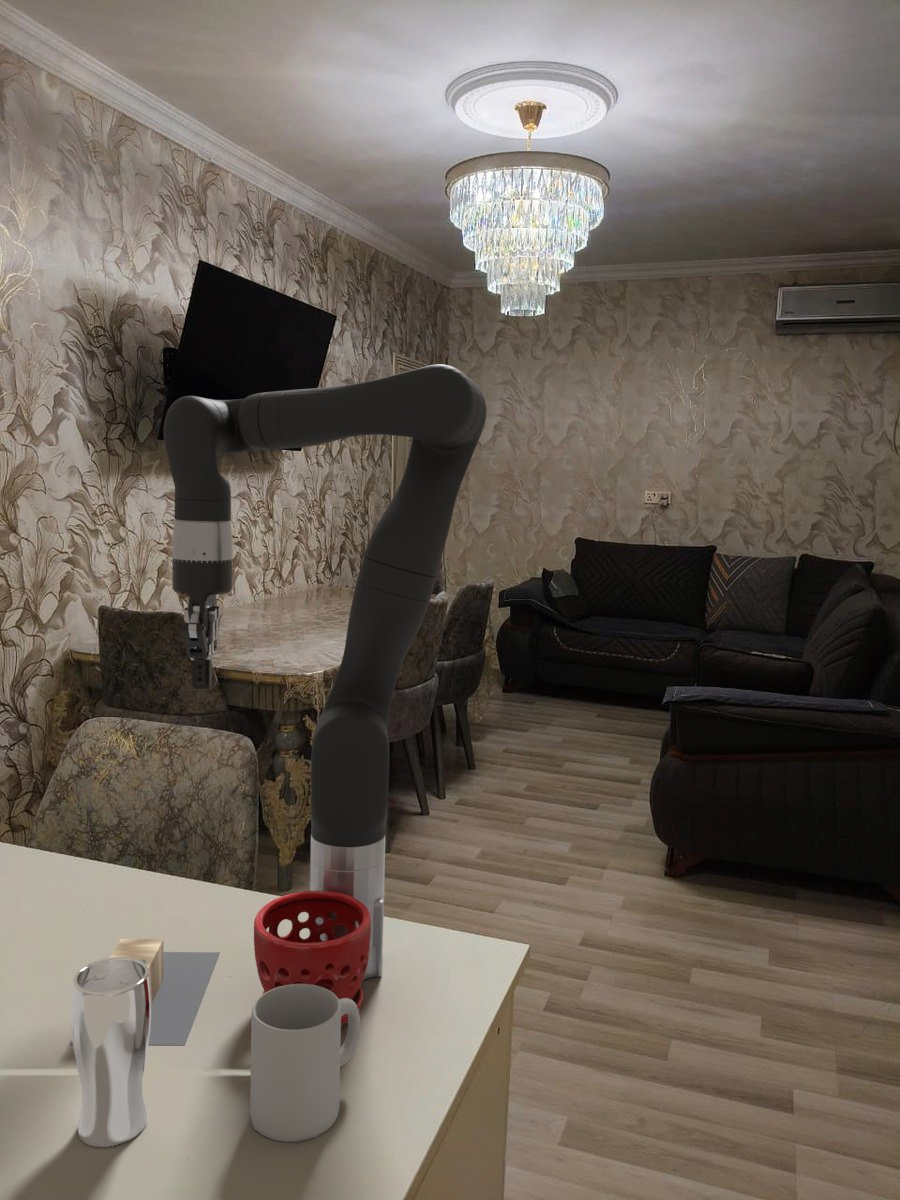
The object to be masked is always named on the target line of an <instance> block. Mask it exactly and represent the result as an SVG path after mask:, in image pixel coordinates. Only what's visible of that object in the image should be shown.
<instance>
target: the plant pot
mask: <svg viewBox="0 0 900 1200" xmlns="http://www.w3.org/2000/svg"><path fill="white" fill-rule="evenodd" d="M331 912H334V913H336V915H337V919H332V918H331V917H330V913H331ZM302 913H306V914H307V915H308V918H307V919H306V920H305V921H300V920H299V915H301V914H302ZM319 917H321V918H322V919H323V921H324V922H323V923H322V924H320V925H319V924H317V923H316V919H317V918H319ZM284 920H288V921H290V922H291V929H290V931H289V933H288V934H286V935H284V936H280V935H279V930H278V928H279V926H280V923H281V922H282V921H284ZM356 921H357V922H358V924H359V927H358V928H357V927H356ZM253 922H254V923H253V945H254V946H253V947H254V959H255V964H256V969H257V975H258V979H259V981H260V984H261V987H262V989H263V991H262V994H261V995H263V994H264V993H266V992H267V991H269V990H272V989H274V988H277V987H280V986H285V985H291V984H310V985H316V986H320V987H323V988H326V989H328V990H330V991H331V992H333V993H334V994H335V995H336V996H337V997H338V999H342V998H348V999H351V1000H353V1001H354V1002H355V1003H356V1005H357V1008H358V1010H359V1011H360V1010H361V1007H362V1005H363V1001H364V991H363V988H362V986H361V985H362V983H363V981H364V980H363V978H364V975H365V972H366V969H367V964H368V959H369V950H370V935H371V917H370V912H369V910H368V909H367V907H366V906H365V905H364V904H363V903H362V902H360V901H359V900H357V899H356V898H354V897H351V896H349V895H346V894H342V893H337V892H330V891H310V890H307V891H306V890H304V891H299V892H293V893H290V894H289V893H288V894H286V895H283V896H280V897H277V898H274V899H273V900H271V901H269V902H268V903H265V905H264V906H262V907H261V908H260V909H259V911H258V912H257V914H256V915H255V918H254V921H253ZM337 925H342V926H344V927H345V928H346V930H347V932H348V935H346V936H344V937H341V938H338V939H337V938H336V937H335V934H334V930H335V927H336V926H337ZM304 929H308V930H310V936H309V935H308V937H306V938H302V937H301V935H300V934H301V931H302V930H304ZM267 930H268V931H267ZM324 933H325V934H327V936H328V940H327V941H322V940H321V938H320V935H321V934H324ZM346 1023H347V1024H348V1016H347V1014H344V1015H343V1016H341V1027H342V1026H343V1025H345V1024H346Z"/></svg>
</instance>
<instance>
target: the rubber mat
mask: <svg viewBox="0 0 900 1200" xmlns="http://www.w3.org/2000/svg"><path fill="white" fill-rule="evenodd" d="M220 954H221V951H220V952H219V951H216V952H215V951H214V952H213V951H211V952H209V951H207V952H205V951H202V952H201V951H163V981H162V983H161V985H160V987H159V989H158V991H157V994H156V996H155V998H154V1000H153V1002H152V1004H151V1030H150V1038H149V1044H148V1046H186V1043H187V1041H188V1038H189V1035H190V1033H191V1030H192V1028H193V1025H194V1023H195V1020H196V1017H197V1015H198V1011H199V1009H200V1007H201V1005H202V1002H203V998H204V997H205V994H206V991H207V988H208V985H209V983H210V981H211V978H212V975H213V973H214V970H215V966H216V965H217V962H218V959H219V957H220ZM69 1046H73V1042H72V1040H71V1041H70V1044H69Z"/></svg>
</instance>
